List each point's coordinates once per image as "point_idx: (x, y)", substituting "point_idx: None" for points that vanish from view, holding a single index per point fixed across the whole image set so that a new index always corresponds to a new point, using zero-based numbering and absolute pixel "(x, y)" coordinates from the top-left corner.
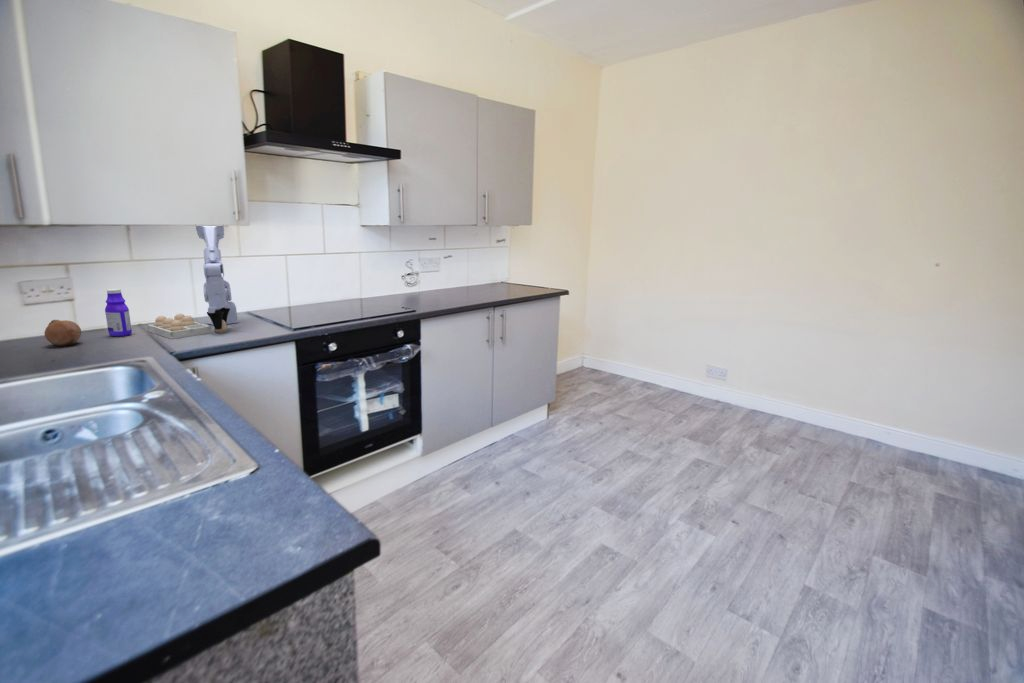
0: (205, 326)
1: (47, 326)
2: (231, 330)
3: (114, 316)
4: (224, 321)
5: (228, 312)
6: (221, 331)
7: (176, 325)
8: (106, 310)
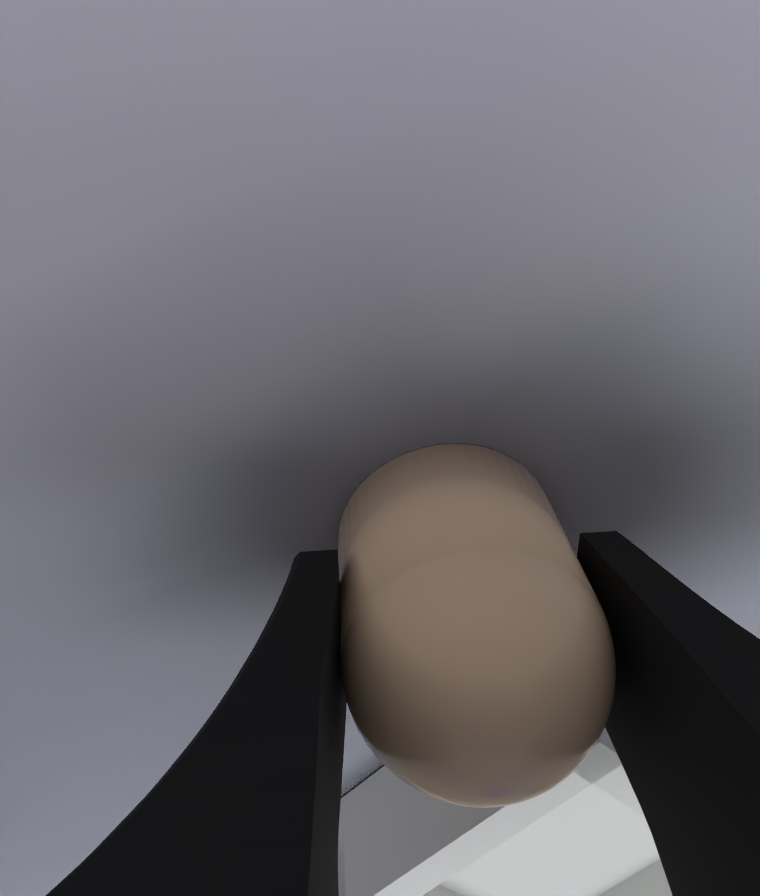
0: (517, 816)
1: None
2: (346, 382)
3: None
4: (505, 618)
5: (149, 849)
6: (550, 506)
7: None
8: None
